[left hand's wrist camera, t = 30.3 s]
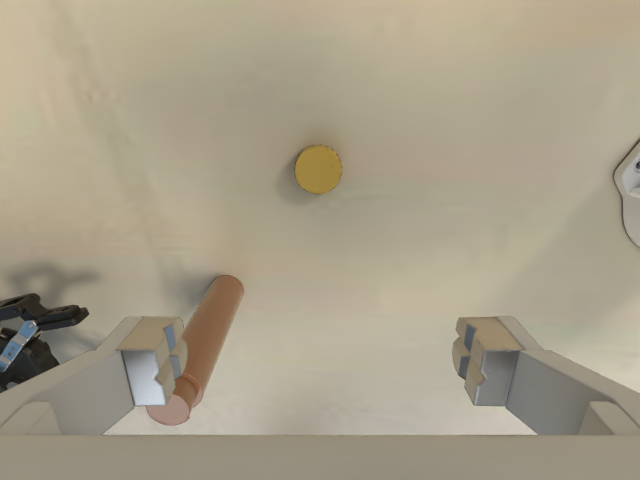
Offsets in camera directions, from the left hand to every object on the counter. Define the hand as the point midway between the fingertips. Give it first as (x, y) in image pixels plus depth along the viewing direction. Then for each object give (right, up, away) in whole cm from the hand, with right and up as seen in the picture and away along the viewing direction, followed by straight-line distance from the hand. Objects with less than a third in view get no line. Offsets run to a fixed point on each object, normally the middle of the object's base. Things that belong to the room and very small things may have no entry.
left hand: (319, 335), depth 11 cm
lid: (0, +10, +26) cm, 28 cm away
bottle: (-11, -3, +33) cm, 35 cm away
